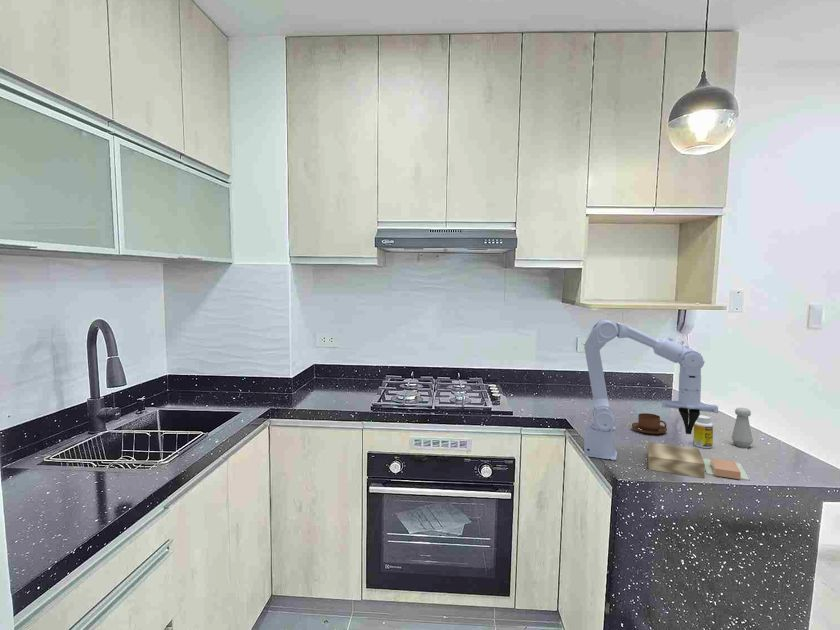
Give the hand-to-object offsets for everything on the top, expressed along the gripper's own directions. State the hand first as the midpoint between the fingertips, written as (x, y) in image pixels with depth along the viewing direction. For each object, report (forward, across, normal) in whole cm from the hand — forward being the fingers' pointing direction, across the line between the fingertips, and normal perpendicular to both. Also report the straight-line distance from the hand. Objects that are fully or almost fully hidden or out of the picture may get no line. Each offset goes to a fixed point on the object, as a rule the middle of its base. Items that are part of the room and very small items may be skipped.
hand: (688, 433), depth 133 cm
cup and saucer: (+10, -10, +32) cm, 35 cm away
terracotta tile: (+7, +9, -3) cm, 12 cm away
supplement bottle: (+10, +6, +21) cm, 24 cm away
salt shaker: (+10, +18, +27) cm, 34 cm away
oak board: (+10, -4, -3) cm, 11 cm away
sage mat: (+10, +9, 0) cm, 13 cm away
